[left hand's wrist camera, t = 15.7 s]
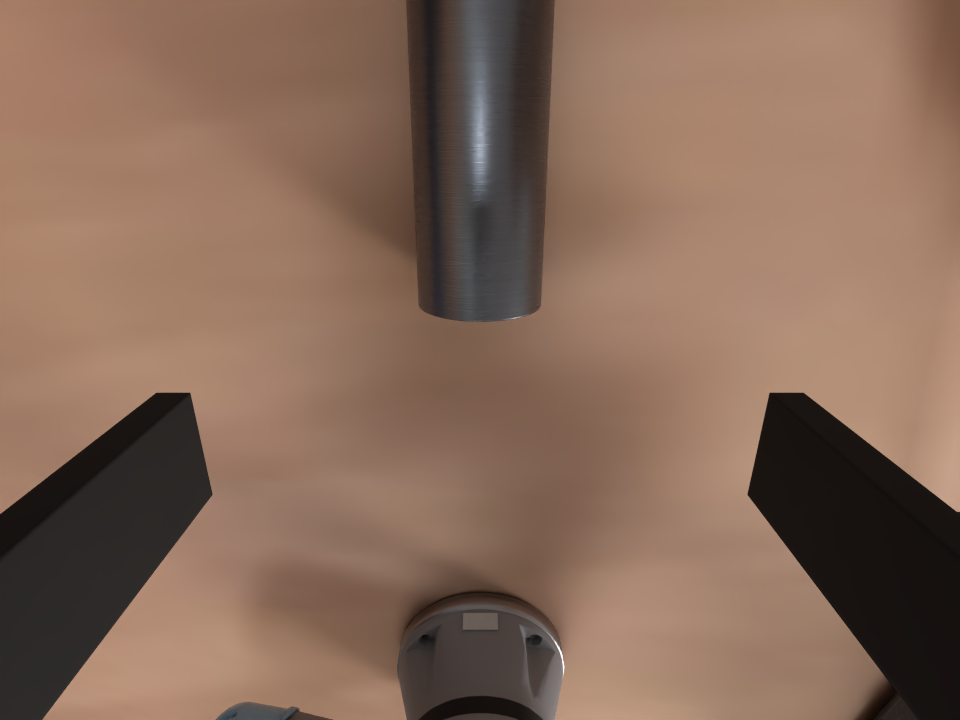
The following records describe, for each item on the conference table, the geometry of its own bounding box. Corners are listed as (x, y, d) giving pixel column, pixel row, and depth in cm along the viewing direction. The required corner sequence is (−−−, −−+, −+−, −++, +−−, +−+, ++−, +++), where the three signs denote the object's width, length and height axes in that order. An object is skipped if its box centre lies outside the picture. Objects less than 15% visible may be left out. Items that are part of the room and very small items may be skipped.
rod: (533, 288, 39) (548, 321, 32) (423, 288, 39) (413, 322, 31) (553, -201, 29) (581, -316, 22) (405, -204, 29) (384, -319, 22)
